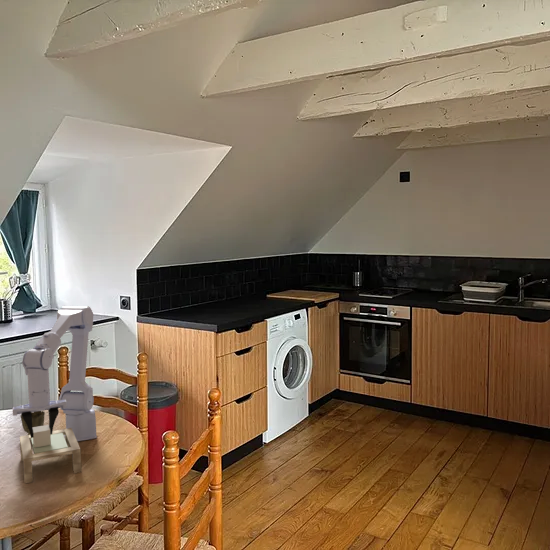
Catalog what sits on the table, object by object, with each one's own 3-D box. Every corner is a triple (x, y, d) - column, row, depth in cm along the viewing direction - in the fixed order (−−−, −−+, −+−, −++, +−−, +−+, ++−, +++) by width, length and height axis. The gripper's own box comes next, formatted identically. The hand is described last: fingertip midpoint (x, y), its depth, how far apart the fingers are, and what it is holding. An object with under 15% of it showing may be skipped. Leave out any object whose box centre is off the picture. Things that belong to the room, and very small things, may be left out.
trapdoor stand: (72, 449, 180) (71, 427, 179) (81, 471, 164) (80, 448, 164) (20, 458, 173) (19, 436, 173) (24, 483, 157) (23, 459, 157)
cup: (22, 442, 186) (21, 418, 185) (21, 434, 192) (19, 411, 191) (46, 438, 189) (45, 414, 188) (44, 430, 196) (43, 408, 195)
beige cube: (49, 439, 170) (48, 424, 169) (51, 444, 166) (50, 429, 165) (33, 442, 168) (32, 427, 167) (34, 447, 164) (33, 432, 163)
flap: (64, 442, 176) (64, 432, 176) (70, 457, 165) (69, 446, 165) (31, 448, 172) (31, 438, 171) (34, 463, 161) (34, 453, 161)
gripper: (12, 397, 158) (15, 444, 160) (67, 389, 165) (69, 434, 167) (11, 390, 165) (13, 435, 166) (64, 383, 171) (66, 426, 173)
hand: (41, 434), depth 167 cm, fingers closed on beige cube, 4 cm apart
